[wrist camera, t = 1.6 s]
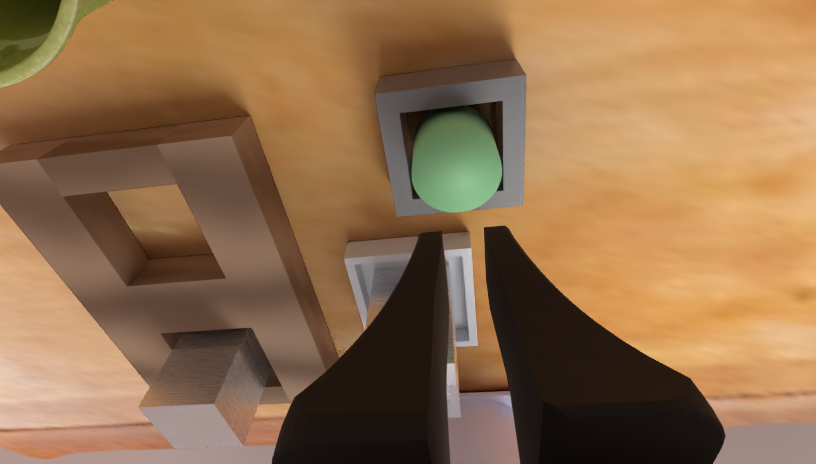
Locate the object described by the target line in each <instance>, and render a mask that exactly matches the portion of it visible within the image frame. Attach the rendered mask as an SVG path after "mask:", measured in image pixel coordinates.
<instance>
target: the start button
mask: <svg viewBox="0 0 816 464" xmlns="http://www.w3.org/2000/svg"><path fill="white" fill-rule="evenodd" d="M411 175H412V183H413V186H414V189H415V191H416V192H417V194H418V195H419V197H420V198H421V199H422V200H423V201H424V202H425V203H427V204H428V205H429V206H431V207H433V208H435V209H437V210H441V211H445V212H453V213H457V212H465V211H469V210H472V209H475V208H477V207H479V206H481V205H482V204H484V203H485V202H487V201H488V200H489V199H490V198H491V197H492V196H493V195H494V193H495V192H496V190H497V188H498V187H499V184H500V181H501V177H502V164H501V160H500V156H499V153H498V150H497V146H496V143H495V140H494V136H493V133H492V130H491V127H490V125H489V123H488V121H487V120H486V119H485V117H484V116H483V115H482V114H481V113H479V112H478V111H476V110H475V109H473V108H470V107H467V106H464V105H463V106H455V107H447V108H438V109H435V110H433V111H432V112H430V113H429V114H428V115H426V116H425V117H424V119H423V120H422V121H421V122H420V124H419V125H418V127H417V129H416V132H415V136H414V145H413V159H412V173H411Z"/></svg>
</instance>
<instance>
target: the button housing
mask: <svg viewBox="0 0 816 464" xmlns="http://www.w3.org/2000/svg"><path fill="white" fill-rule="evenodd" d="M374 97H375V102H376V108H377V113H378V118H379V124H380V129H381V135H382V140H383V145H384V151H385V156H386V162H387V167H388V172H389V178H390V183H391V189H392V194H393V199H394V205H395V210H396V216H397V217H404V216H414V215H425V214H436V213H447V212H445V211H441V210H437V209H435V208H433V207H431V206H429V205H428V204H427V203H425V202H424V201H423V200H422V199H421V198H420V197H419V195H418V194H417V192H416V191H415V189H414V186H413V183H412V175H411V173H412V156H411V149H410V143H409V136H408V129H407V122H406V115H405V112H414V111H422V110H430V109H438V108H447V107H455V106H463V105H471V104H480V103H488V102H496V145H497V150H498V153H499V156H500V160H501V164H502V177H501V181H500V184H499V187H498V188H497V190H496V192H495V193H494V195H493V196H492V197H491V198H490V199H489V200H488V201H487V202H485V203H484V204H482V205H481V206H479V207H477V208H475V209H472V210H479V209H490V208H501V207H511V206H522V205H523V195H524V150H525V105H526V74H525V72H524V71H523V69H522V68H521V66H520V64H519V63H518V61H517V60H516V59H511V60H504V61H496V62H489V63H481V64H473V65H466V66H458V67H450V68H443V69H435V70H428V71H420V72H412V73H405V74H397V75H390V76H382V77H379V80H378V84H377V87H376V90H375V93H374Z"/></svg>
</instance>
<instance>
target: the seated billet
mask: <svg viewBox="0 0 816 464" xmlns="http://www.w3.org/2000/svg"><path fill="white" fill-rule="evenodd" d="M271 368H272V366H271V364H270V362H269V360H268V358H267V356H266V354H265V352H264V350H263V349H262V347H261V345H260V343H259V341H258V339H257V337H256V335H255V333H254V331H253V329H252V328H236V329H221V330H206V331H190V332H183V333H182V335H181V337H180V338H179V340H178V342H177V343H176V345H175V347H174V348H173V350H172V352H171V353H170V355H169V357H168V358H167V360H166V362H165V363H164V365H163V367H162V368H161V370H160V372H159V373H158V375H157V377H156V378H155V380H154V382H153V383H152V385H151V387H150V388H149V390H148V392H147V393H146V395H145V397H144V398H143V400H142V401H141V403H140V405H139V406H138V408H139V409H140V410H141V411H142V412H143V414H144V415H145V416H146V417H147V418H148V419H149V420H150V421H151V423H152V424H153V425H154V426H155V427H156V428H157V429H158V430H159V432H160V433H161V434H162V435H163V436H164V437H165V438H166V439H167V441H168V442H169V443H170V444H171V445H172V446H173V447H174V448H175V449H179V448H211V447H242V446H244V444H245V441H246V438H247V435H248V433H249V430H250V427H251V424H252V421H253V418H254V416H255V413H256V410H257V407H258V404H259V402H260V399H261V396H262V393H263V390H264V388H265V385H266V382H267V379H268V376H269V373H270V371H271Z"/></svg>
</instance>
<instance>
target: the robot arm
mask: <svg viewBox="0 0 816 464" xmlns="http://www.w3.org/2000/svg"><path fill="white" fill-rule="evenodd" d="M484 241H485V264H486V282H487V290H488V297H489V305H490V311H491V315H492V319H493V323H494V327H495V331H496V335H497V339H498V343H499V347H500V351H501V355H502V359H503V363H504V367H505V371H506V375H507V380H508V385H509V390H510V391H497V392H474V393H460V409H461V417H460V418H448V409H447V357H448V335H449V312H450V311H449V295H448V281H447V272H446V263H445V254H444V245H443V237H442V231H439V232H428V233H421V234H420V235H419V236H418V240H417V243H416V246H415V248H414V251H413V253H412V256H411V258H410V260H409V262H408V264H407V266H406V268H405V270H404V272H403V274H402V276H401V278H400V280H399V282H398V283H397V285H396V287H395V288H394V290H393V292H392V293H391V295H390V297H389V298H388V300H387V302H386V303H385V305H384V306H383V308H382V309H381V310H380V312H379V313H378V315H377V316H376V317H375V319H374V320H373V321H372V323H371V324H370V325H369V326H368V327H367V329H366V330H365V331H364V332H363V333H362V335H361V336H360V337H359V338H358V339H357V341H356V342H355V343H354V344H353V345H352V346H351V347H350V348H349V349H348V350H347V351H346V352H345V353H344V354H343V355H342V356H341V357H340V358H339V359H338V360H337V361H336V362H335V363H334V364H333V365H332V366H331V367H330V368H329V369H328V370H327V371H326V372H325V373H324V374H322V375H321V376H320V377H319V378H318V379H316V380H315V381H314V382H313V383H311V384H310V385H309V386H308V387H307V388H305V389H304V390H303V391H302V392H300V393H299V394H298V395H297V396H295V397H294V399H293V401H292V404H291V406H290V408H289V410H288V413H287V415H286V417H285V420H284V422H283V425H282V428H281V431H280V434H279V437H278V441H277V444H276V448H275V452H274V456H273V458H272V464H713V462H714V460H715V459H716V457H717V455H718V453H719V452H720V450H721V448H722V446H723V443H724V439H725V433H724V429H723V426H722V424H721V423H720V421H719V419H718V418H717V416H716V414H715V412H714V411H713V409H712V407H711V406H710V405H709V403H708V402H707V400H706V399H705V397H704V396H703V395H702V393H701V392H700V391H699V389H698V388H697V387H696V385H695V384H694V383H693V381H692V380H691V379H690V378H688V377H687V376H685V375H683V374H681V373H679V372H677V371H675V370H673V369H671V368H669V367H668V366H666V365H664V364H662V363H660V362H658V361H656V360H654V359H652V358H651V357H649V356H647V355H645V354H644V353H642V352H640V351H639V350H637V349H635V348H634V347H632V346H630V345H629V344H627V343H626V342H624V341H622V340H621V339H619V338H618V337H617V336H615V335H614V334H612V333H611V332H609V331H608V330H607V329H605V328H604V327H602V326H601V325H599V324H598V323H597V322H595V321H594V320H593V319H591V318H590V317H589V316H588V315H586V314H585V313H584V312H583V311H581V310H580V309H579V308H578V307H577V306H576V305H574V304H573V303H572V302H571V301H570V300H569V299H568V298H567V297H565V296H564V295H563V294H562V293H561V292H560V291H559V290H558V289H557V288H556V287H555V286H554V285H553V284H552V283H551V282H550V281H549V280H548V279H547V278H546V276H545V275H544V274H543V273H542V272H541V271H540V270H539V269H538V267H537V266H536V265H535V264H534V263H533V262H532V260H531V259H530V258H529V257H528V256H527V254H526V253H525V252H524V250H523V249H522V248H521V246H520V245H519V244H518V242H517V241H516V240H515V238H514V237H513V235H512V233H511V232H510V230H509V229H508V228H507V227H506V226H496V227H485V228H484Z"/></svg>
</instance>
